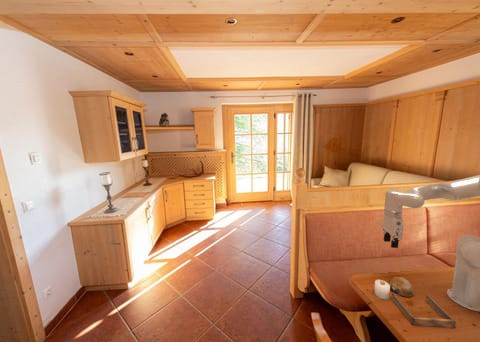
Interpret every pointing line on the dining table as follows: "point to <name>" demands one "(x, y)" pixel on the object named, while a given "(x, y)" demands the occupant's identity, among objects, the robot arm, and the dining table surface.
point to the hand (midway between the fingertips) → (390, 244)
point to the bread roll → (401, 286)
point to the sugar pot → (382, 289)
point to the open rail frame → (445, 322)
